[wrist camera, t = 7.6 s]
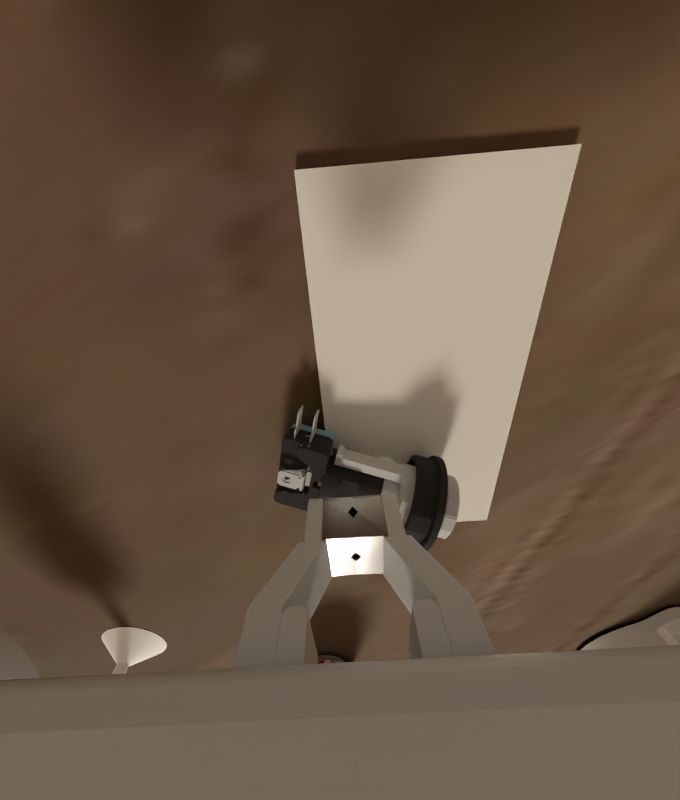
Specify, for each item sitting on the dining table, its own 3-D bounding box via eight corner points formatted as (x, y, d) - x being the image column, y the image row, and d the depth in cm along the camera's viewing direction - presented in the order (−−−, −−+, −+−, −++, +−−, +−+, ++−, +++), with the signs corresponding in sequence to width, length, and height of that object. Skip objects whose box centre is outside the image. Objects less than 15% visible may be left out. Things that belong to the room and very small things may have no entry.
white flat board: (572, 148, 12) (581, 143, 11) (483, 514, 22) (486, 519, 21) (295, 173, 12) (294, 170, 11) (337, 523, 22) (337, 529, 22)
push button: (271, 431, 13) (490, 492, 12) (305, 384, 18) (464, 426, 17) (263, 524, 16) (435, 577, 15) (293, 464, 21) (426, 502, 20)
